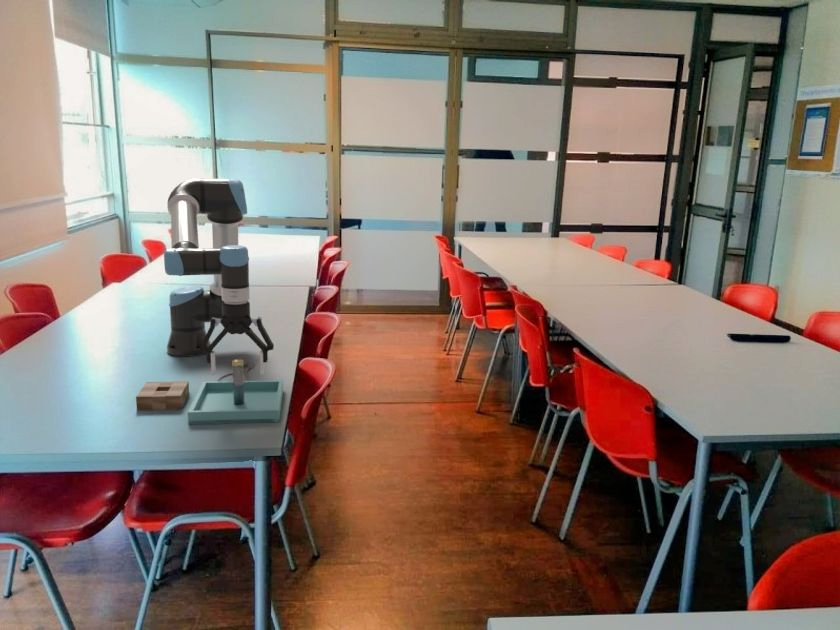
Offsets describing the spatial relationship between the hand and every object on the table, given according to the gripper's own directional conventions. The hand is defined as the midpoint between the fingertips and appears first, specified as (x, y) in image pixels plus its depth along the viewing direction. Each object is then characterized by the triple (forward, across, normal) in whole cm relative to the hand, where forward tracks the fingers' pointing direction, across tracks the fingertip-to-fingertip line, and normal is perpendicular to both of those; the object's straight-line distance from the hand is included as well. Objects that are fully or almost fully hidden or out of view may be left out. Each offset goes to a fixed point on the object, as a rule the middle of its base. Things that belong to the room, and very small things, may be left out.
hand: (238, 373), depth 185 cm
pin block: (+10, -22, +5) cm, 25 cm away
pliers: (+11, -4, +29) cm, 31 cm away
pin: (+9, 0, 0) cm, 9 cm away
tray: (+10, 0, 0) cm, 10 cm away
